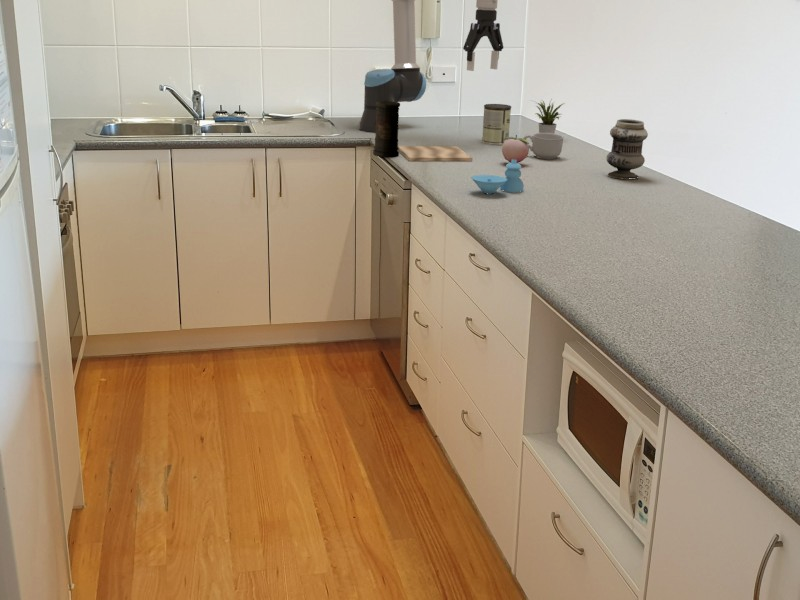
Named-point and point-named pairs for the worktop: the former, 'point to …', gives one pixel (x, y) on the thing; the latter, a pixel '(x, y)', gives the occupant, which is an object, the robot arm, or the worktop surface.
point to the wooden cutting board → (433, 153)
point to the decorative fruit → (515, 149)
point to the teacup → (546, 145)
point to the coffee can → (496, 123)
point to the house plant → (548, 118)
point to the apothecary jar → (626, 147)
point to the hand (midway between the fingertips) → (482, 69)
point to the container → (386, 129)
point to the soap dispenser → (501, 180)
